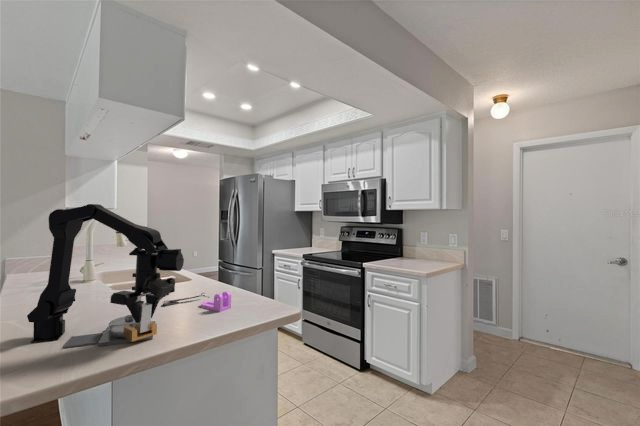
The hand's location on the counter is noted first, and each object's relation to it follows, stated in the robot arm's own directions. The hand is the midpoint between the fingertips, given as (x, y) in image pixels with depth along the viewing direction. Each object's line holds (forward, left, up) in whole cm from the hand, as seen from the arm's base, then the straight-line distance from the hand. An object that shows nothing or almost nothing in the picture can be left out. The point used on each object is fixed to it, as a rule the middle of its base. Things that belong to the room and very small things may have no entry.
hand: (143, 320), depth 96 cm
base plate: (-4, +5, -6) cm, 9 cm away
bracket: (+23, +24, -6) cm, 34 cm away
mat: (-16, +4, -6) cm, 17 cm away
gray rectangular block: (0, -1, -3) cm, 3 cm away
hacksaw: (+13, +41, -6) cm, 44 cm away
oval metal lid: (-3, +3, -4) cm, 6 cm away
